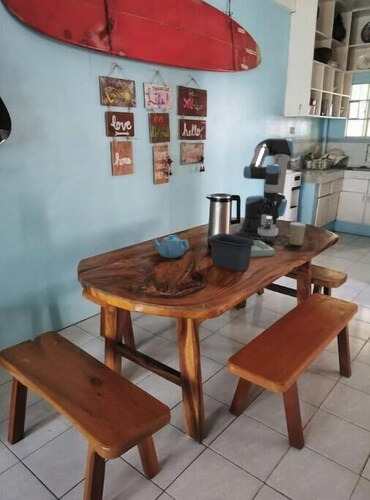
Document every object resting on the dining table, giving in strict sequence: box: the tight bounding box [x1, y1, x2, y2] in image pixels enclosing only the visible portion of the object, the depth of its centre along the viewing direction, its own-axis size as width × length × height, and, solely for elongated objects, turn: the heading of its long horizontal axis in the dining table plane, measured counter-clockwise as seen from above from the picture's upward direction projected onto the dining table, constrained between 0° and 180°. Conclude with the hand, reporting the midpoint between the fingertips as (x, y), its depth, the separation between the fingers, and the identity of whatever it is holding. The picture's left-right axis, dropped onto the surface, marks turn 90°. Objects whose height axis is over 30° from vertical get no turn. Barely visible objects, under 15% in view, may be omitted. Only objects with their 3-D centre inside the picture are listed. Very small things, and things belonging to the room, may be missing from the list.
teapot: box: [152, 234, 190, 259], centre depth 196 cm, size 15×15×11 cm
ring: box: [257, 225, 279, 237], centre depth 222 cm, size 11×11×4 cm
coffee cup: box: [288, 221, 307, 246], centre depth 220 cm, size 9×9×12 cm
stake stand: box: [260, 222, 275, 245], centre depth 223 cm, size 8×8×12 cm
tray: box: [250, 239, 276, 258], centre depth 205 cm, size 19×19×3 cm
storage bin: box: [208, 232, 255, 272], centre depth 180 cm, size 21×16×14 cm
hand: (268, 227), depth 221 cm, fingers open, 13 cm apart
